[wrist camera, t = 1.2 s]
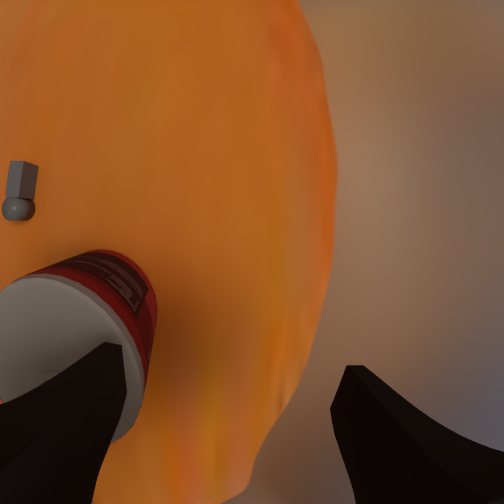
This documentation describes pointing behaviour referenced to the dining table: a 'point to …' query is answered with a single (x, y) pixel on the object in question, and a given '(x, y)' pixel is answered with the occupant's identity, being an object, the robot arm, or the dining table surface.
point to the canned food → (77, 324)
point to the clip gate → (20, 191)
